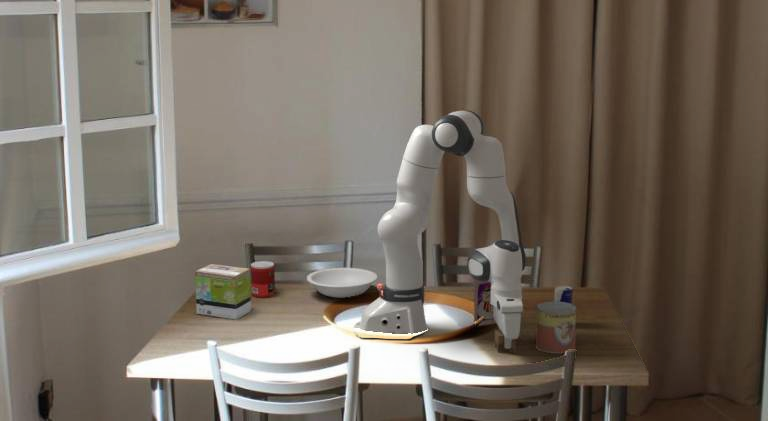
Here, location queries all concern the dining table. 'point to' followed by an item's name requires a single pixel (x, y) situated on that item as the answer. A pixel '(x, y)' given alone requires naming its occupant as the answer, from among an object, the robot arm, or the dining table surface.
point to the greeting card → (483, 303)
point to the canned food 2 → (555, 326)
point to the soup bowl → (342, 281)
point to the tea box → (223, 291)
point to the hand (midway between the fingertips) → (505, 344)
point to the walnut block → (502, 342)
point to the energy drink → (563, 294)
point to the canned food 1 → (262, 279)
